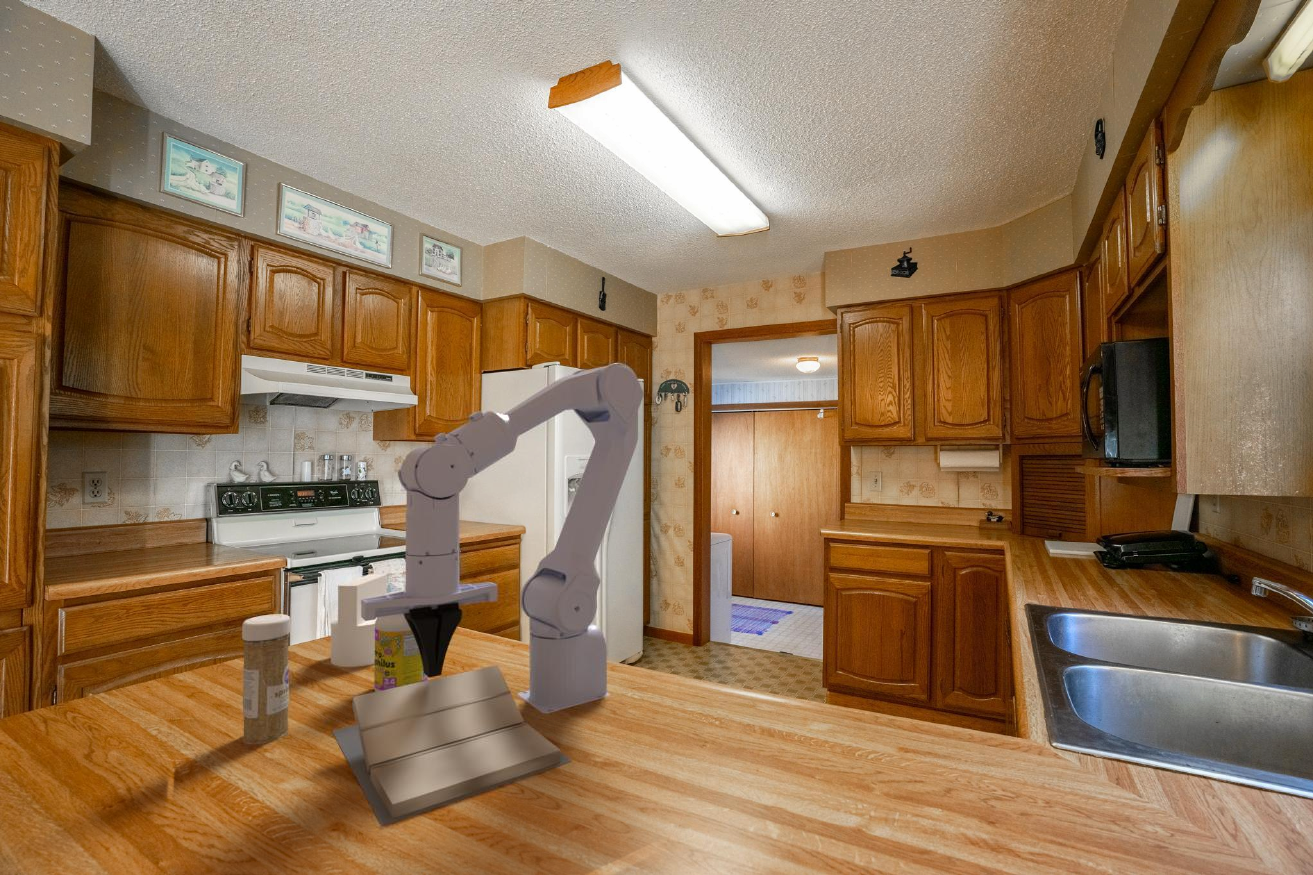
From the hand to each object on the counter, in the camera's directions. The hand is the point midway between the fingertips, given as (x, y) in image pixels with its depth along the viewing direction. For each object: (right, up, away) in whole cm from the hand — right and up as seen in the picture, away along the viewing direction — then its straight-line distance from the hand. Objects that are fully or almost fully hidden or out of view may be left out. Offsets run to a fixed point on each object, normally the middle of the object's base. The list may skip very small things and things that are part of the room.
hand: (432, 673), depth 70 cm
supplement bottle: (-9, -8, +14) cm, 18 cm away
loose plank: (+1, -4, -2) cm, 5 cm away
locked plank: (+7, -6, -9) cm, 13 cm away
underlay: (+3, -7, -4) cm, 8 cm away
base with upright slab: (-21, -8, +27) cm, 35 cm away
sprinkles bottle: (-18, -7, -1) cm, 20 cm away
